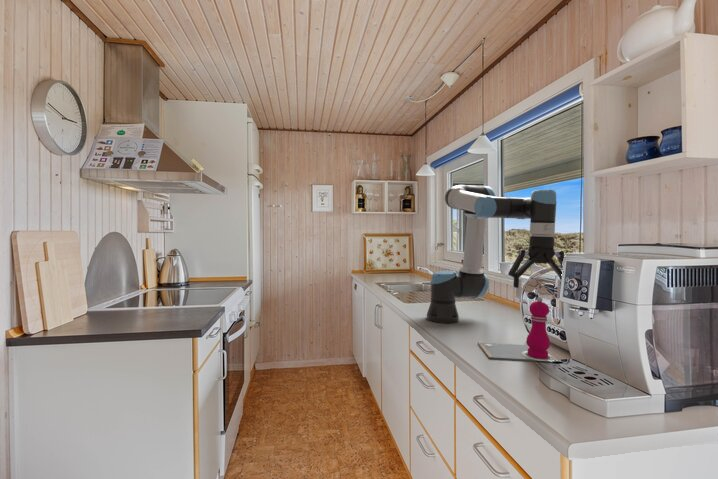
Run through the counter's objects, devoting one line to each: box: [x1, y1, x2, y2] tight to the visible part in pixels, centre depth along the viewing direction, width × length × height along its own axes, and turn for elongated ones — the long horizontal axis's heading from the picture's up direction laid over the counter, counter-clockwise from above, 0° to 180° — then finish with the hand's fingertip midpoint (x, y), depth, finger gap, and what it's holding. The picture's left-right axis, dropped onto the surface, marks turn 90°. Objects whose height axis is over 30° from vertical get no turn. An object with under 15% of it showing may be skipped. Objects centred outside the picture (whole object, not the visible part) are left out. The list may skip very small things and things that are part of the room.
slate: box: [477, 342, 558, 362], centre depth 126 cm, size 17×22×1 cm
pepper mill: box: [525, 296, 551, 359], centre depth 122 cm, size 7×7×20 cm
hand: (538, 298), depth 122 cm, fingers open, 13 cm apart
